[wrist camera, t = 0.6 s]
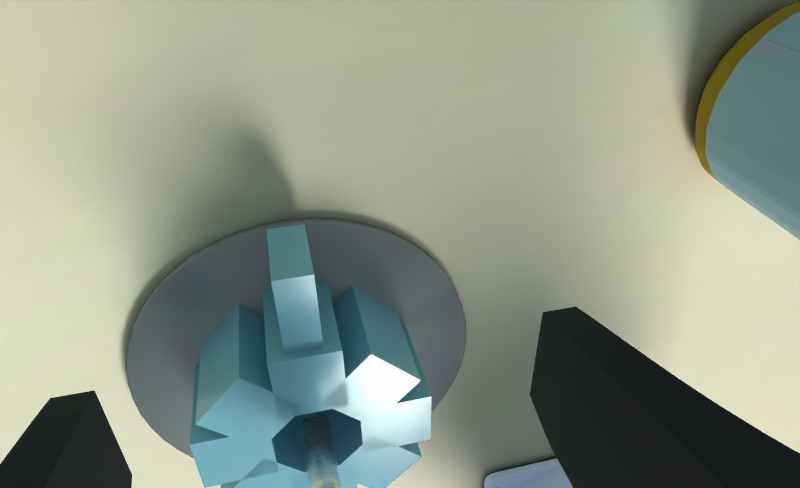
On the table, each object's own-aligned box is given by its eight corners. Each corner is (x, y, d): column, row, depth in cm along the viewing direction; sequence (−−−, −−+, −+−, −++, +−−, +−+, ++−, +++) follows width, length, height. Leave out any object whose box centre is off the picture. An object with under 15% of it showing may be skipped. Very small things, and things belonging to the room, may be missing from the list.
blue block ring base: (458, 432, 28) (487, 508, 25) (175, 493, 26) (166, 585, 22) (470, 187, 20) (514, 249, 17) (73, 241, 18) (38, 324, 15)
